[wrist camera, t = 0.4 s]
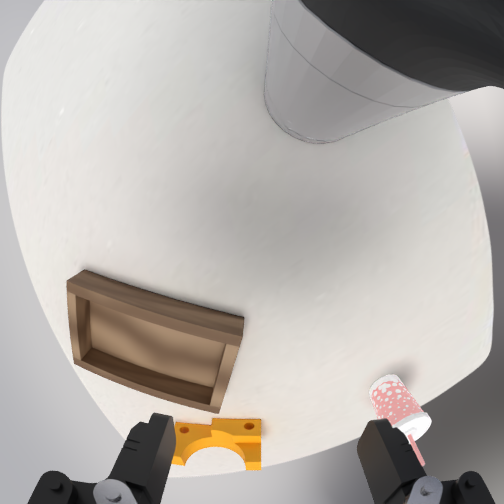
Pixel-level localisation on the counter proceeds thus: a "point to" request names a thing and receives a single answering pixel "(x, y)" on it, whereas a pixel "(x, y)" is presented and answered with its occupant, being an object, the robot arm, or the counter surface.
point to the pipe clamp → (220, 439)
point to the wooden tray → (152, 341)
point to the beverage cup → (399, 409)
